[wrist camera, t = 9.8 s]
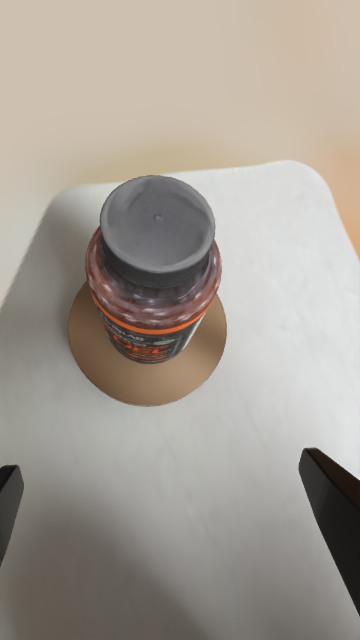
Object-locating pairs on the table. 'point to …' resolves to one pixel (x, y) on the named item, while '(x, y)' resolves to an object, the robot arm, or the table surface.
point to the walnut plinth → (144, 379)
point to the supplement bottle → (153, 266)
